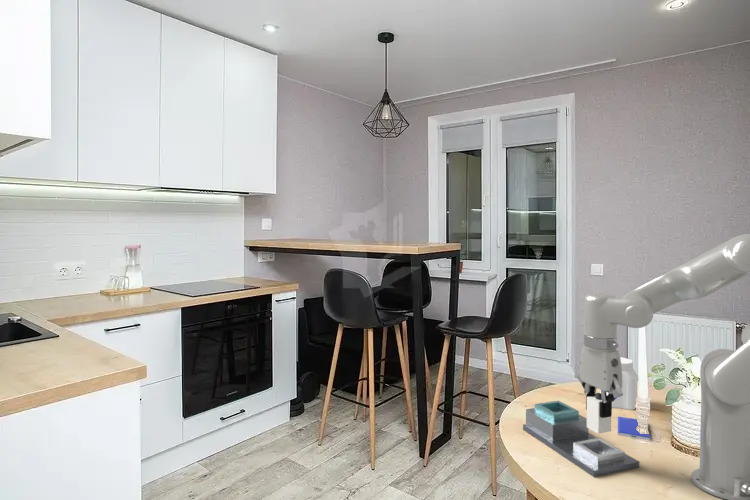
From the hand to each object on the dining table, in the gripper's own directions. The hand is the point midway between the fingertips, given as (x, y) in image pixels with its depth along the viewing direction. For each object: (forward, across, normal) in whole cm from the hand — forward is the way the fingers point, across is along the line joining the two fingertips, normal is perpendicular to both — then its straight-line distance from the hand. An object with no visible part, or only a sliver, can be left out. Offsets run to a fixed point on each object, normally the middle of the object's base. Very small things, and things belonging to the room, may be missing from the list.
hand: (598, 412), depth 119 cm
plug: (+4, 0, 0) cm, 4 cm away
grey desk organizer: (+13, +8, 0) cm, 15 cm away
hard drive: (+13, +12, -24) cm, 30 cm away
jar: (+13, +29, -36) cm, 48 cm away
